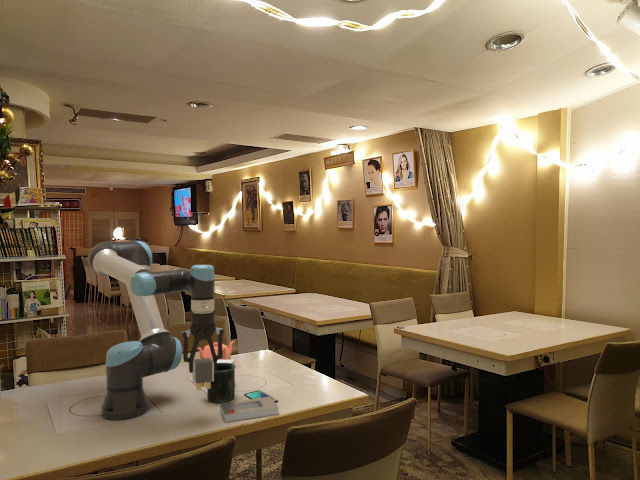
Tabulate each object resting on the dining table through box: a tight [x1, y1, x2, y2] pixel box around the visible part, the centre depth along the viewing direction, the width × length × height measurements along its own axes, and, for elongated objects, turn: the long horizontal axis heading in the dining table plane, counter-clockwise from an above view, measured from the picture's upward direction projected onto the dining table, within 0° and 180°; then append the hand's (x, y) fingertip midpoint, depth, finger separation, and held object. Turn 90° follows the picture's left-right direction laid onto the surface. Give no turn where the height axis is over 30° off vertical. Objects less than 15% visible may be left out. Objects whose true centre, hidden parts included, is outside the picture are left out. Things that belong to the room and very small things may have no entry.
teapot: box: [197, 340, 236, 360], centre depth 218 cm, size 14×14×11 cm
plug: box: [194, 358, 212, 391], centre depth 156 cm, size 5×5×9 cm
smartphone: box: [243, 390, 279, 404], centre depth 176 cm, size 7×1×15 cm
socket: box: [219, 396, 279, 423], centre depth 162 cm, size 18×11×3 cm, turn 111°
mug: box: [206, 363, 236, 404], centre depth 177 cm, size 11×15×12 cm
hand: (203, 380), depth 157 cm, fingers closed on plug, 5 cm apart
